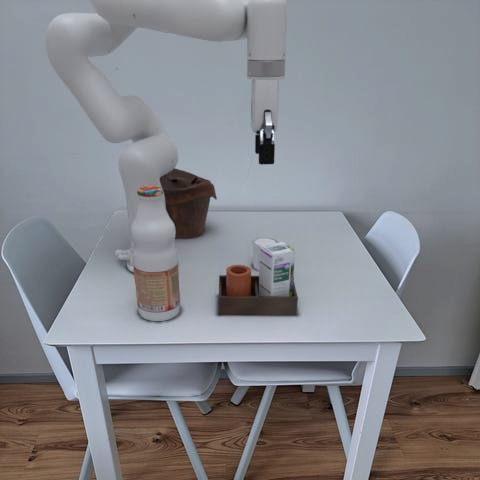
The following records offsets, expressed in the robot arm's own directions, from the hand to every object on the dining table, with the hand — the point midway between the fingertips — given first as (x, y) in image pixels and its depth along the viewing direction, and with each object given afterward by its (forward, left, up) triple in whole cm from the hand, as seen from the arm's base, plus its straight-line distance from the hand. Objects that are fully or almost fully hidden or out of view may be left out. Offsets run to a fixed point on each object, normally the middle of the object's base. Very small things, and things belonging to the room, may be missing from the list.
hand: (264, 158), depth 107 cm
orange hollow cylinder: (-5, -10, -31) cm, 33 cm away
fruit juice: (-23, -13, -31) cm, 41 cm away
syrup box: (+3, -10, -31) cm, 33 cm away
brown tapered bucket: (-21, +36, -31) cm, 52 cm away
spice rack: (-1, -10, -31) cm, 32 cm away
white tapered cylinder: (+2, +11, -31) cm, 33 cm away
